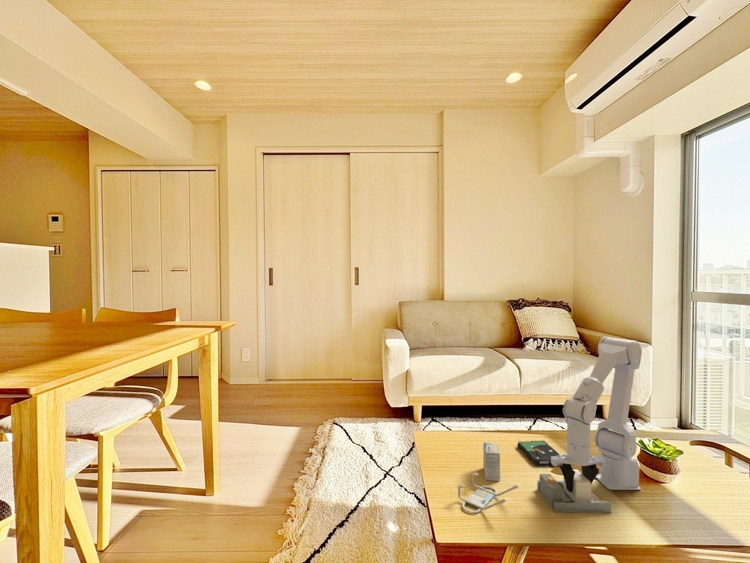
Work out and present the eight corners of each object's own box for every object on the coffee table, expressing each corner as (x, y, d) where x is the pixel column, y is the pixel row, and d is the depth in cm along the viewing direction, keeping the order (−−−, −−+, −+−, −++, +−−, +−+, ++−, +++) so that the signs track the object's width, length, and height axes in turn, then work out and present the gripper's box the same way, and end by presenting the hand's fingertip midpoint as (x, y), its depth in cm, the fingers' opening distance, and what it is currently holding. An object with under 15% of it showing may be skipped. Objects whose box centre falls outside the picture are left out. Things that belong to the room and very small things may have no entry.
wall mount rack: (477, 483, 117) (477, 464, 117) (522, 500, 109) (522, 480, 109) (451, 507, 106) (452, 486, 105) (500, 528, 97) (500, 505, 97)
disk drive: (566, 467, 129) (543, 447, 143) (566, 459, 128) (543, 439, 143) (535, 468, 128) (516, 447, 143) (536, 460, 128) (516, 440, 143)
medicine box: (500, 481, 118) (500, 453, 118) (485, 480, 119) (485, 452, 119) (497, 469, 126) (497, 442, 126) (483, 467, 127) (483, 441, 127)
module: (577, 489, 113) (577, 469, 113) (590, 504, 106) (591, 482, 106) (563, 489, 113) (563, 469, 113) (575, 504, 106) (576, 482, 106)
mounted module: (549, 490, 113) (550, 471, 112) (563, 507, 105) (563, 486, 104) (539, 490, 113) (539, 471, 112) (552, 507, 105) (552, 486, 104)
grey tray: (587, 489, 114) (587, 480, 114) (611, 512, 103) (611, 503, 103) (537, 489, 114) (537, 480, 114) (555, 512, 103) (555, 502, 103)
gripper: (595, 436, 112) (595, 482, 113) (546, 436, 112) (545, 482, 113) (610, 447, 105) (610, 496, 106) (557, 447, 105) (557, 496, 105)
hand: (577, 490), depth 109 cm, fingers closed on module, 4 cm apart
